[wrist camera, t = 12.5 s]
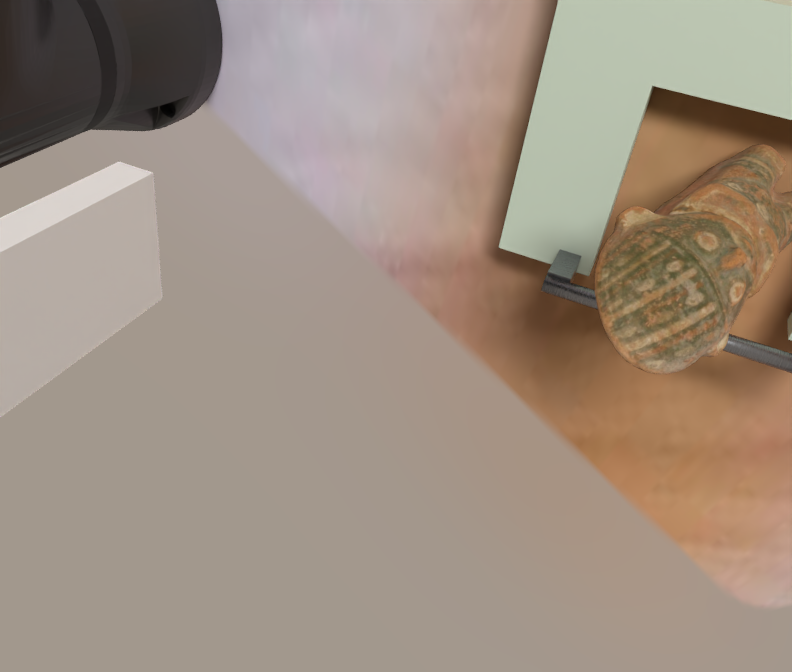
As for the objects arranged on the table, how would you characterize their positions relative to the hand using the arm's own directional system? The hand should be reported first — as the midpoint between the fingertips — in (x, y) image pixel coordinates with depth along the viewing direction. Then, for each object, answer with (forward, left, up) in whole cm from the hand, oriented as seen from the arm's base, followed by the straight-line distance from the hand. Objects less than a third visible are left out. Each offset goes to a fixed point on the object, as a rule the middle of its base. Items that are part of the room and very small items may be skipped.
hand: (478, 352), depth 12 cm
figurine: (+5, -9, -35) cm, 36 cm away
